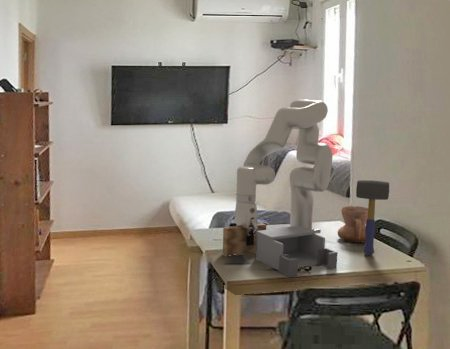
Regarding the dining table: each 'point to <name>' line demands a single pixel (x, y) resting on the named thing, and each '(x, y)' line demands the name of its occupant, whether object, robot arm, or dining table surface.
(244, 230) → the tan wooden plank
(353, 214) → the ceramic jug
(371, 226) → the rubber mallet
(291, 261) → the cabinet
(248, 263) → the dining table surface
